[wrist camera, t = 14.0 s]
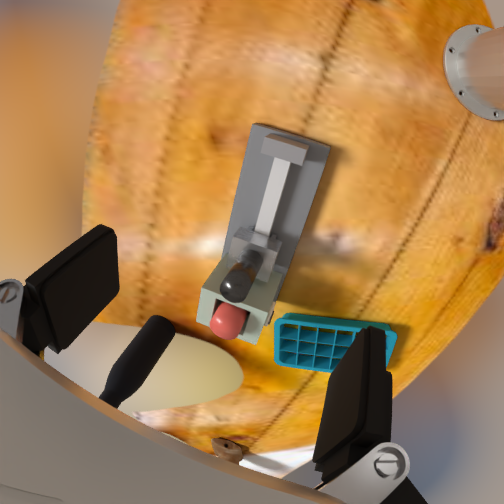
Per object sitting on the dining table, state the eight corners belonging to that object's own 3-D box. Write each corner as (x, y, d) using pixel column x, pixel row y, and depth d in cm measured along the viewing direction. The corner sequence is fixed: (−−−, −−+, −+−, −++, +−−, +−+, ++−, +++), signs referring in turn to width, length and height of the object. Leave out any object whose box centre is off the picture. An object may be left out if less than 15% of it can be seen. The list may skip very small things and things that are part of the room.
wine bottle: (170, 316, 61) (86, 435, 36) (179, 339, 63) (106, 455, 39) (145, 313, 63) (61, 422, 38) (154, 335, 66) (80, 442, 41)
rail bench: (332, 146, 37) (328, 166, 28) (277, 301, 51) (260, 346, 42) (255, 122, 38) (226, 134, 29) (219, 279, 52) (192, 319, 43)
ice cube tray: (278, 306, 52) (274, 317, 49) (397, 319, 47) (399, 331, 44) (277, 353, 58) (274, 364, 55) (382, 365, 52) (382, 377, 50)
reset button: (255, 294, 43) (242, 323, 38) (248, 314, 45) (235, 343, 40) (228, 284, 43) (211, 311, 38) (223, 305, 46) (207, 332, 41)
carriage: (284, 237, 43) (263, 284, 33) (274, 266, 45) (252, 316, 36) (242, 223, 43) (211, 264, 34) (235, 252, 46) (205, 298, 37)
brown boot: (249, 460, 89) (236, 497, 76) (216, 451, 92) (201, 486, 79) (250, 444, 81) (235, 485, 69) (213, 433, 84) (195, 473, 71)
